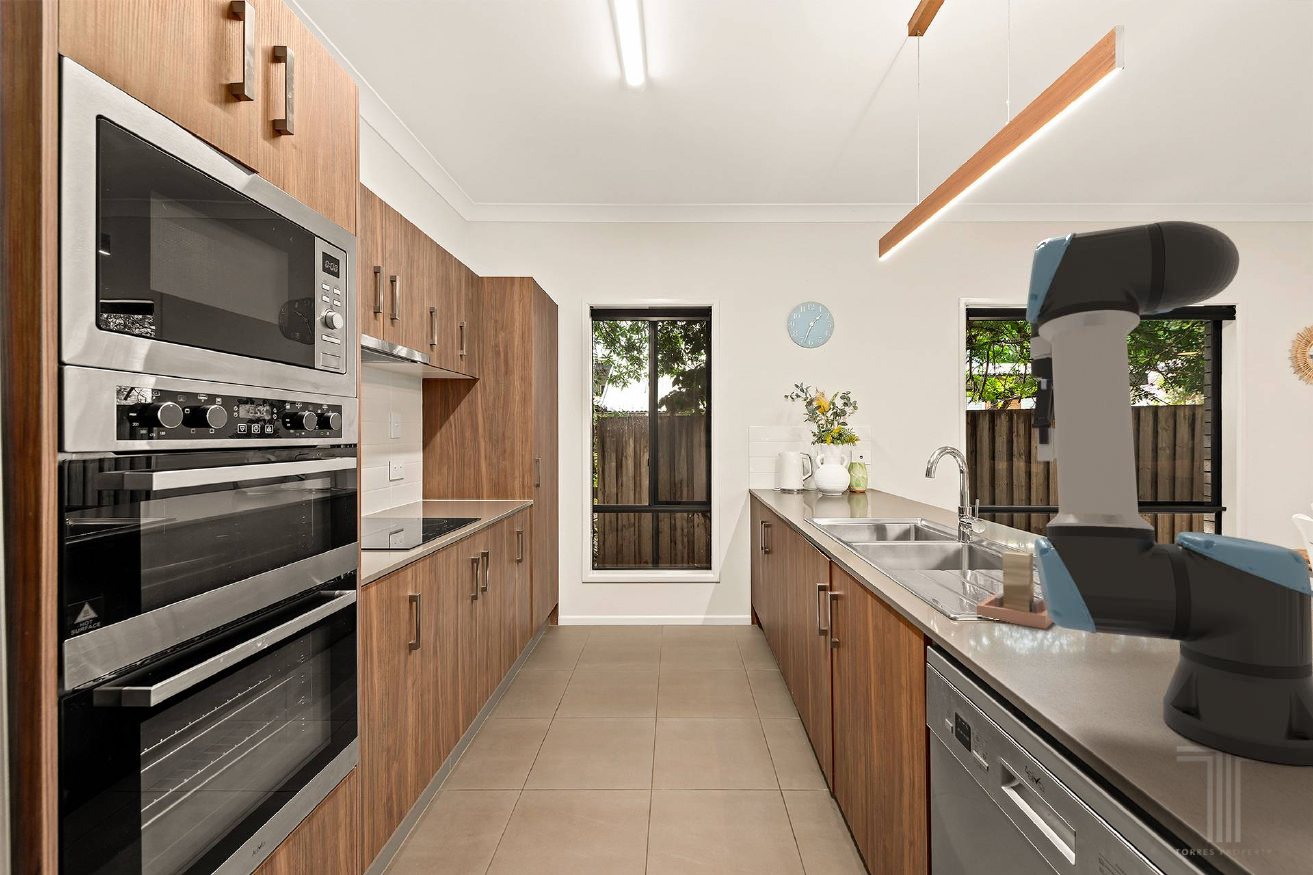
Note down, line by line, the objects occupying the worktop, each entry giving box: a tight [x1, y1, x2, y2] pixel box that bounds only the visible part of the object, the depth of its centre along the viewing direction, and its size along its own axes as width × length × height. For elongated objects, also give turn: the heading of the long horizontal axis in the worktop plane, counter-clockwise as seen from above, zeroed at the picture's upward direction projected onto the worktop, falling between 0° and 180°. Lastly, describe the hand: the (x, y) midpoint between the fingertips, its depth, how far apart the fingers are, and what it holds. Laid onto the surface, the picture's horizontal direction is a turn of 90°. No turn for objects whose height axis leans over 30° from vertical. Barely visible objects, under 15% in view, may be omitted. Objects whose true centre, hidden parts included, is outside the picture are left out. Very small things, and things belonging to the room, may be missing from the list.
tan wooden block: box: [1002, 550, 1035, 612], centre depth 127 cm, size 4×4×12 cm
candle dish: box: [976, 592, 1054, 630], centre depth 127 cm, size 12×12×4 cm
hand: (1054, 460), depth 133 cm, fingers open, 13 cm apart
